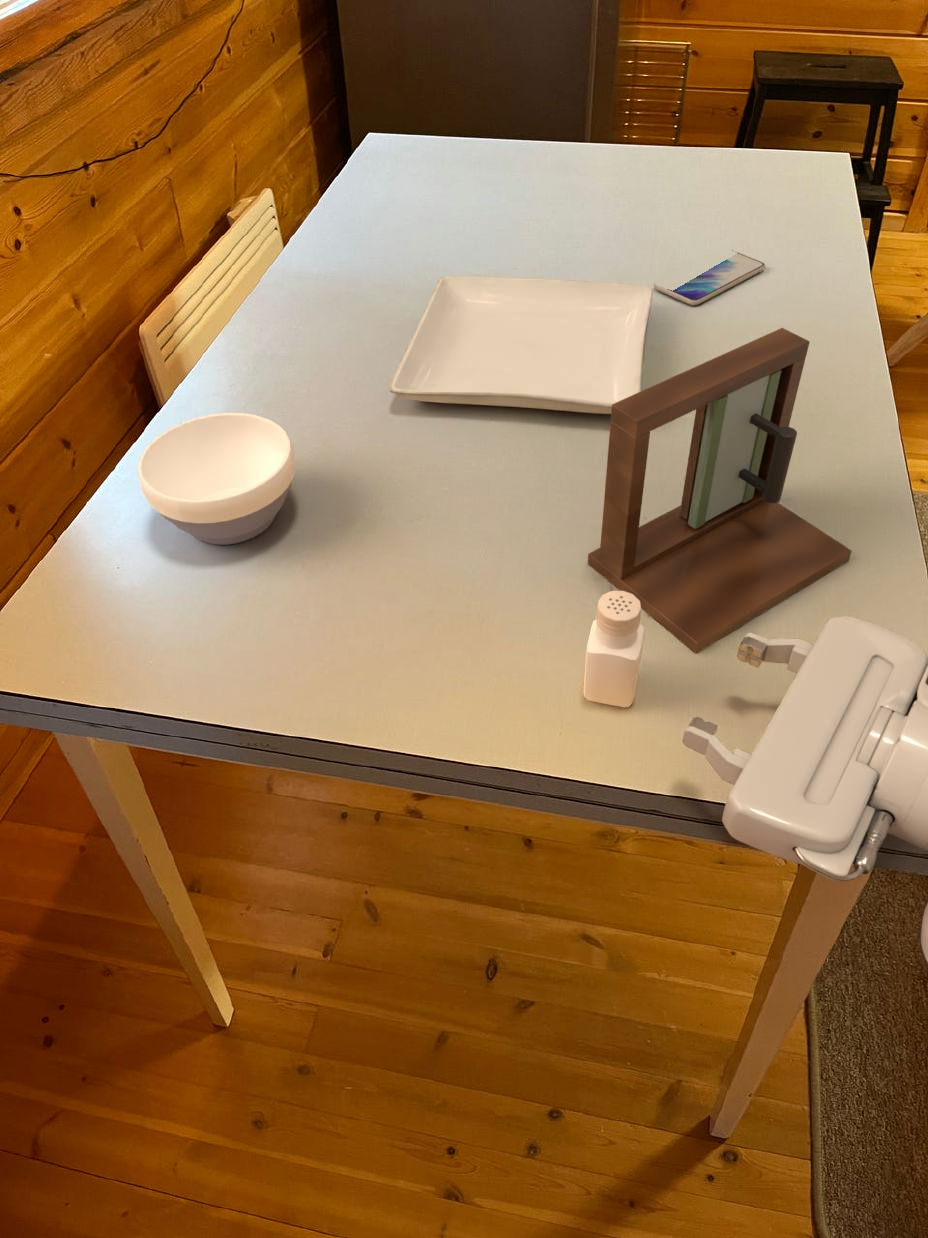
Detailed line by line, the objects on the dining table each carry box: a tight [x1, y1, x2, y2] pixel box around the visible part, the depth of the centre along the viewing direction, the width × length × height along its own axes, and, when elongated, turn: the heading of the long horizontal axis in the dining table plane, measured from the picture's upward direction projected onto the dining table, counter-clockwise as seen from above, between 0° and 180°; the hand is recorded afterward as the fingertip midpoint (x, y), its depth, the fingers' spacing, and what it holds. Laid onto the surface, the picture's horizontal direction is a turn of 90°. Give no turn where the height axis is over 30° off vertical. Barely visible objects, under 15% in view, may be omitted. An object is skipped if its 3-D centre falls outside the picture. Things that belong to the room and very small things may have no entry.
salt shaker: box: [582, 590, 646, 708], centre depth 71 cm, size 4×4×10 cm
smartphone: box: [653, 249, 766, 306], centre depth 122 cm, size 7×1×15 cm
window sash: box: [688, 370, 798, 529], centre depth 80 cm, size 5×7×14 cm
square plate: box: [388, 276, 653, 415], centre depth 109 cm, size 27×27×4 cm
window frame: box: [587, 327, 853, 654], centre depth 78 cm, size 14×19×18 cm
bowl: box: [137, 412, 297, 545], centre depth 89 cm, size 14×14×8 cm
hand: (715, 685), depth 67 cm, fingers open, 8 cm apart
